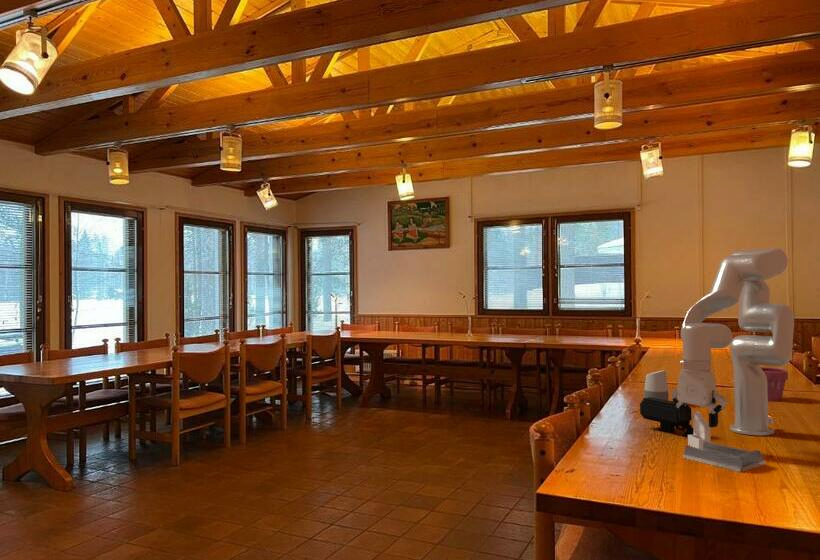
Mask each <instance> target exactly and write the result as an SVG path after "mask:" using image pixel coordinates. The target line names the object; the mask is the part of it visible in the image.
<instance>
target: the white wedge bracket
mask: <svg viewBox="0 0 820 560" xmlns="http://www.w3.org/2000/svg"><path fill="white" fill-rule="evenodd" d="M692 425H693V427H692V428H693V432H694V435H688V437H687V446H689V445H690V447H691V446H692V447H695V448H699V449H703V442H710V443H712V442H711V440H712V439H711V438H712V437H711V427H709V422H707V420H706V419H705V418H704V416H703V415H702V414H701V413H700V411H692Z"/></svg>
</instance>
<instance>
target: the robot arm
mask: <svg viewBox="0 0 820 560" xmlns="http://www.w3.org/2000/svg"><path fill="white" fill-rule="evenodd" d="M788 261H789V260H788V255H787V253H786V251H784V250H783V249H782V248H777V247H776V248H775V247H771V248H770V247H769V248H759V249H758V248H755V249H741V250H738V251H737V250H736V251H734V252H733V253H731V254H730V255H727V256H724V257H723V258H722V259H721V261H720V263H719V265H718V267H717V270H716V272H715V276H714V278H713V280H712V284H711V287H710V289H709V292H708V293H707V294H706V295H704V296H703V297H701V298H700V299H699V300H697V301H696V302H695V303H694V304H693V305H692V306H691V307H690V308H689V309H688V311H687V312H686V314H685V316H684V320H683V323H682V325H681V328H680V339H681V342H682V360H680V361H679V364H680V366H682V369H680V371H679V375H678V380H677V381H678V382H677V388H676V389H673V390H672V391H670V392H669V394H670V397H671V398H672V401H673V402H674V403H675V404H676V407H677V408H678V417H679V421H686V420H687V408H686V407H685V405H686V404H688V405H693V406H698V407H706V408H707V409H708V411H709V412H710V413H708V424H709V427H710V428H717V427H718V424H719V414H720V413H721V411H722V410H723V409H725V405H726V404H727V402H728V400H727V399H726V398H725V397H724V396H722V395H721V394H720V393H717V387H716V386H717V385H716V379H715V374H714V372H713V371H712V349H725V348H727V347H729V353H730V358H731V362H732V368H733V391H734V392H733V394H734V397H733V398H734V400H733V401H734V403H733V404H734V424H730V426H729V430H730V431H732V432H734V433H738V434H741V435H749V436H772V435H774V434H775V429H774V428H772V427H770V426H769V424H772V423H774V418H773V417H772V416H769V404H768V403H769V401H768V394H767V378H766V375H765V373H764V372H763V370H762V369H761V367H762V366H764V367H765V366H766V367H785V366H787V365H788V364H789V363H790V360H792V359H791V357H792V352H793V341H794V331H795V315H794V312H793V309H792V308H791V307H790V306H789V305H788V304H785V303H781V302H780V303H779V302H777V303H774V302H773V303H770V293H771V291H770V290H771V289H770V287H769V284H767V283H766V281H765V280H771V279H772V278H775V277H776V276H777V277H778V276H779V275H781V274H783V273H784V272H785V270H786V269H787V267H788V263H789V262H788ZM738 303H739V306H738V313H737V315H738V317H737V320H738V321H737V323H738V326H739V328H740V329H741V330H743V331H746V332H753V333H754V332H756V333H771V334H772V336H771V335H768V336H767V335H754V334H743V335H742V334H741V335H736V336H734V337H733V333H732V330H731V329H730V327H728V326H727V325H726V324H722V323H709V322H708V323H706V322H703V321H704V320H706V319H707V318H708V317H710V316H712V315H714V314H715V313H718V312H722V311H725V310H727V309H729V308H732V307H733V306H735V305H737V304H738ZM717 401H718V404H717Z"/></svg>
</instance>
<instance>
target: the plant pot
mask: <svg viewBox="0 0 820 560" xmlns="http://www.w3.org/2000/svg"><path fill="white" fill-rule="evenodd" d="M760 367H761V369H762V370H763V372H764V373H765V375H766V378H767V394H768V402H779V401H780V402H781V400H782V397H783V393H784V390H785V385H786V381H787V380H789V373H788V370H787V369H784V368H777V367H768V366H766V367H765V366H764V367H762V366H760Z"/></svg>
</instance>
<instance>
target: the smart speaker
mask: <svg viewBox="0 0 820 560" xmlns="http://www.w3.org/2000/svg"><path fill="white" fill-rule="evenodd" d="M643 391H644V394H643V396H644V397H643V398H649V397H652V398H658V399H663V400H669V387H668V379H667V372H666V369H663V370H658V371H655V372H653V371H652V372H650V373H647V374H646V375H645V382H644V390H643Z"/></svg>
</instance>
